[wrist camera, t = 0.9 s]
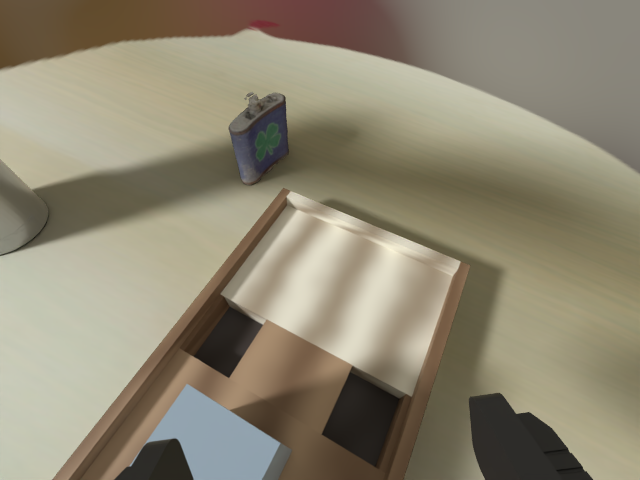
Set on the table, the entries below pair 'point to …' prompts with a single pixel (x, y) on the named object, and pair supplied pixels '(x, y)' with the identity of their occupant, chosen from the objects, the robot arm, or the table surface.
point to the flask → (260, 136)
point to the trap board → (301, 347)
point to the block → (220, 441)
